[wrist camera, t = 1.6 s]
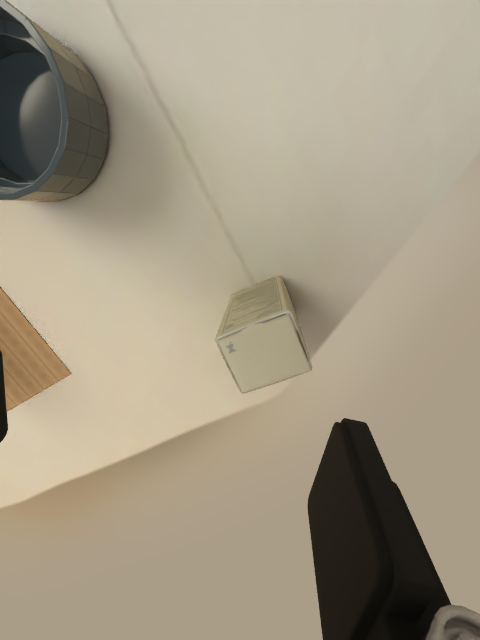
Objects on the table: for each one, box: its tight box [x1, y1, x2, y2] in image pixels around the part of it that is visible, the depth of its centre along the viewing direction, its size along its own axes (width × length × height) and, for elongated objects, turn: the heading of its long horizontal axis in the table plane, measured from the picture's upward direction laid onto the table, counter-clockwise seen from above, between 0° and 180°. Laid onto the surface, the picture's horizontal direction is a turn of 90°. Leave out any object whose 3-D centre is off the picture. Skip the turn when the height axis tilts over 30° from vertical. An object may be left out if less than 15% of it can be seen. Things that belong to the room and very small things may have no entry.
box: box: [215, 276, 312, 393], centre depth 25 cm, size 5×4×11 cm
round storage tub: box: [0, 0, 108, 201], centre depth 24 cm, size 12×12×6 cm
